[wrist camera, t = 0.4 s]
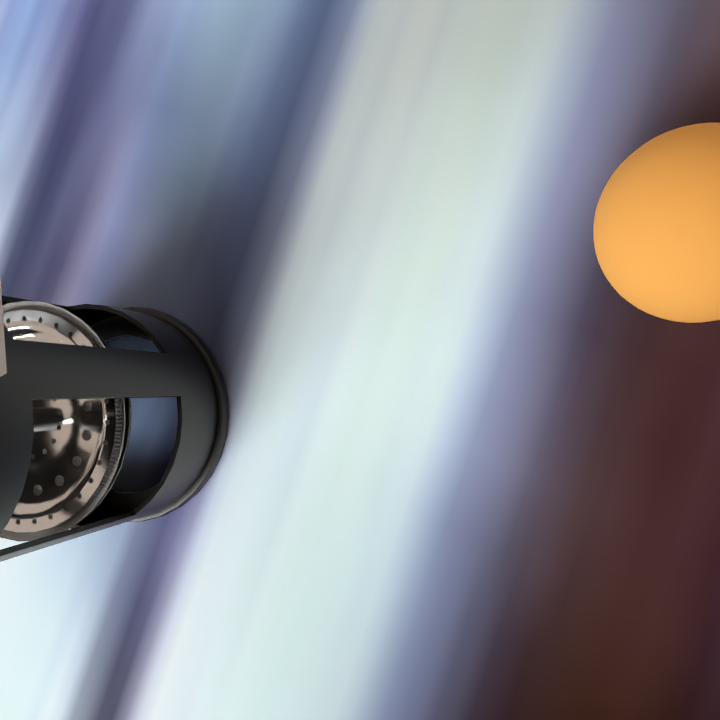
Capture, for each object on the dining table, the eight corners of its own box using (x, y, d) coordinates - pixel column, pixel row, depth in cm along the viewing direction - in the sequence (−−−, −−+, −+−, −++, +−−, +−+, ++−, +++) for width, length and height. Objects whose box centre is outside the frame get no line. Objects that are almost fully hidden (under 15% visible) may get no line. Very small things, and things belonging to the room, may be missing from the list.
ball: (782, 323, 22) (865, 299, 16) (594, 337, 24) (609, 320, 18) (765, 149, 22) (841, 66, 17) (581, 175, 24) (592, 108, 18)
